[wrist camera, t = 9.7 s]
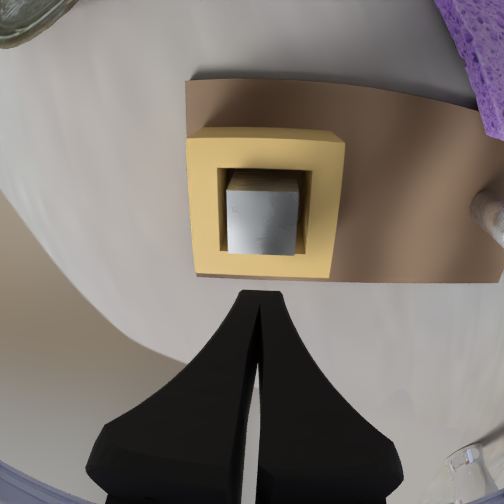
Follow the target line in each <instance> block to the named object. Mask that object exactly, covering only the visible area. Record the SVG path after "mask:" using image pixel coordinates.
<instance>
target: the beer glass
mask: <svg viewBox="0 0 504 504" xmlns="http://www.w3.org/2000/svg"><path fill="white" fill-rule="evenodd" d="M445 465H446V467H447V469H448V471H449V473H450V475H451V478H452V482H453V489H454V504H466V503H468V502H471V501H474V500H477V499H479V498H482V497H484V496H487V495H489V494H492V493H494V492H496V491H499V490H498V488H497V486H496V484H495V482H494V480H493V478H492V476H491V475H490V473H489V471H488V469H487V466H486V463H485V458H484V451H483V445H482V443H474V444H471V445H469V446H466V447H464V448H462V449H460V450H458V451H456V452H455V453H453V454H452V455H450V456H449V457H448V458H447V459H446V460H445Z"/></svg>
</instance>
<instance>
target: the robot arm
mask: <svg viewBox="0 0 504 504" xmlns="http://www.w3.org/2000/svg"><path fill="white" fill-rule="evenodd" d="M257 364H258V371H259V394H260V440H259V457H258V472H257V486H256V501H255V504H386V497H387V496H388V495H390V494H391V493H392V492H393V491H394V490H395V489H396V488H398V486H399V485H400V484H401V483H402V481H403V480H404V475H403V469H402V465H401V461H400V458H399V456H398V453H397V450H396V448H395V446H394V443H393V442H392V441H391V440H390V439H388V438H387V437H386V436H384V435H383V434H382V433H381V432H379V431H378V430H377V429H375V427H373V426H372V425H371V424H370V423H369V422H367V421H366V420H365V419H364V418H363V417H362V416H361V415H360V414H359V413H358V412H357V411H356V410H355V409H354V408H353V407H352V406H351V405H350V404H349V403H348V402H347V401H346V400H345V399H344V398H343V397H342V395H341V394H340V393H339V392H338V391H337V390H336V389H335V388H334V387H333V385H332V384H331V383H330V382H329V380H328V379H327V378H326V377H325V375H324V374H323V373H322V371H321V370H320V368H319V367H318V366H317V364H316V363H315V361H314V360H313V358H312V357H311V355H310V354H309V352H308V350H307V349H306V347H305V345H304V344H303V342H302V340H301V338H300V336H299V334H298V332H297V330H296V328H295V326H294V324H293V322H292V320H291V318H290V315H289V313H288V311H287V308H286V305H285V302H284V299H283V294H282V293H281V292H280V291H262V290H242V291H240V292H239V294H238V297H237V299H236V301H235V303H234V304H233V306H232V308H231V310H230V311H229V313H228V315H227V316H226V318H225V319H224V321H223V322H222V324H221V325H220V327H219V328H218V329H217V331H216V332H215V333H214V335H213V336H212V337H211V339H210V340H209V341H208V342H207V344H206V345H205V346H204V347H203V349H202V350H201V351H200V352H199V353H198V354H197V355H196V356H195V358H194V359H193V360H192V361H191V362H190V363H189V364H188V365H187V366H186V367H185V368H184V369H183V370H182V371H181V372H179V373H178V374H177V375H176V376H175V377H174V378H173V379H172V380H171V381H170V382H168V383H167V384H166V385H165V386H164V387H162V388H161V389H160V390H158V391H157V392H156V393H154V394H153V395H152V396H150V397H149V398H147V399H146V400H145V401H143V402H142V403H141V404H139V405H138V406H136V407H135V408H133V409H131V410H130V411H128V412H126V413H125V414H123V415H121V416H120V417H118V418H116V419H114V420H113V421H111V422H109V423H107V424H105V425H104V427H103V429H102V431H101V433H100V434H99V436H98V438H97V440H96V441H95V443H94V446H93V449H92V451H91V454H90V457H89V459H88V462H87V465H86V467H85V468H86V472H87V474H88V476H89V477H90V478H91V479H92V480H93V481H94V482H95V483H96V484H97V485H98V486H100V487H101V488H102V489H103V490H104V491H105V492H106V493H108V496H107V499H106V502H105V504H241V496H242V483H243V470H244V457H245V445H246V432H247V422H248V414H249V409H250V404H251V398H252V392H253V387H254V382H255V376H256V370H257ZM0 504H96V503H93V502H90V501H87V500H84V499H81V498H79V497H76V496H74V495H71V494H69V493H66V492H64V491H61V490H59V489H57V488H54V487H52V486H50V485H48V484H45V483H43V482H41V481H39V480H37V479H35V478H32V477H31V476H28V475H27V474H25V473H23V472H21V471H19V470H17V469H15V468H13V467H11V466H10V465H8V464H6V463H4V462H2V461H1V460H0ZM466 504H504V488H503V489H501V490H499V491H496V492H494V493H492V494H489V495H487V496H484V497H482V498H479V499H477V500H474V501H471V502H468V503H466Z"/></svg>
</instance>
